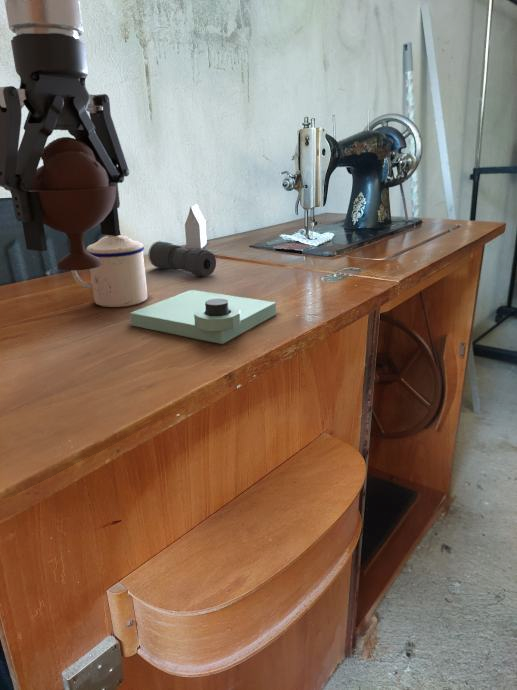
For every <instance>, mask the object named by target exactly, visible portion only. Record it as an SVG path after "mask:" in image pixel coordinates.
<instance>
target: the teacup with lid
mask: <svg viewBox="0 0 517 690" xmlns="http://www.w3.org/2000/svg"><path fill="white" fill-rule="evenodd" d="M144 250H145V247H144V245H143V243H142V242H141V241H137V240H133V239H131V238H129V237H127V236H126V235H121V234H120V235H119V236H111V235H104V236H103V237H101V238H100V239H99V240H97V241H96V242H94V243H92V244H89V245H88V246H87V247H86V248H85V251H86V252H88V253H90V254H92V255H94V256H96V257H98V258H99V259H100V261H101V263H102V265H101V266H99V267H96V268H92V269H89V274H90V281H91V282H87V281H85V280H83V279H82V278H81V276H80V275H79V273H78V270H71V275H72V278H73V280H74V281H75V282H76V283H77V284H78V285H80V286H81V287H82V288H87V289H92V293H93V301H94V303H95V304H96V305H98V306H99V307H103V308H104V307H105V308H123V307H131V306H134V305H138V304H141V303H143V302H145V301H146V300H147V299H148V288H147V277H146V269H145V260H144V259H145V258H144Z"/></svg>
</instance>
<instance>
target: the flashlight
mask: <svg viewBox="0 0 517 690" xmlns="http://www.w3.org/2000/svg"><path fill="white" fill-rule="evenodd" d="M147 257H148V261H149V263H150V264H151V265H152V266H153V267H155V268H159V269H163V270H173V271H178V270H182V271H185V272H187V273H190V274H193V275H194V276H197V277H202V278H204V277H209V276H211V275H212V274H213V273H214V271H216V268H217V267H216V266H217V258H216V256H215V255H214V253H212V251H209V250H208V249H205V248H201V249H187V248H184V247H183V246H181V245H179V244H178V245H177V244H173V243H171V242H167V241H161V240H158V241H157V240H156V241H154V242H153V243H152V244H151V245H150V247H149V249H148V252H147Z"/></svg>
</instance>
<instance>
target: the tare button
mask: <svg viewBox="0 0 517 690" xmlns="http://www.w3.org/2000/svg"><path fill="white" fill-rule="evenodd" d="M205 308H206V315H208V316H224V315H227V314H229V305H228V300H226V299H210V300H207V301H206V302H205Z"/></svg>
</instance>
